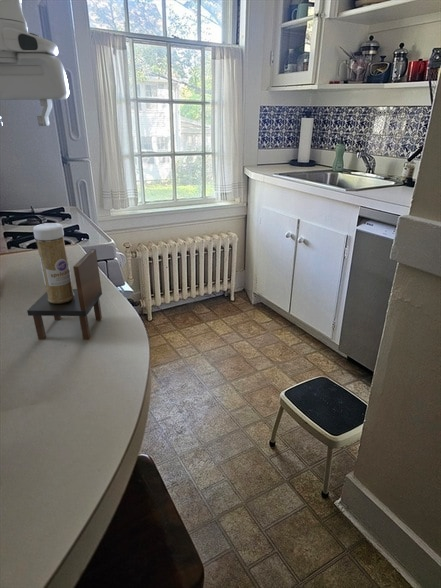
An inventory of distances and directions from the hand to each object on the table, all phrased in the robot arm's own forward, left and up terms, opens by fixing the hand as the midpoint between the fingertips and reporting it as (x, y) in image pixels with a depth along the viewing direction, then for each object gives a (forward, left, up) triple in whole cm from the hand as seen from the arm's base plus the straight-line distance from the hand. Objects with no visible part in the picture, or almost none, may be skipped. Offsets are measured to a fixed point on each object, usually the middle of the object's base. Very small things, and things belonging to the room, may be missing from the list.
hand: (20, 126), depth 77 cm
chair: (+12, -20, -34) cm, 41 cm away
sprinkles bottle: (+11, -20, -28) cm, 36 cm away
